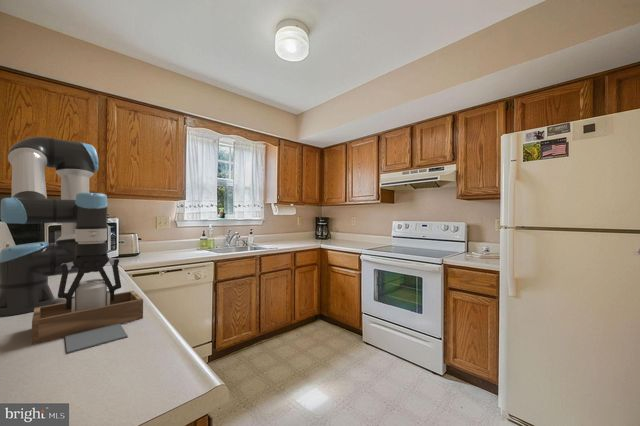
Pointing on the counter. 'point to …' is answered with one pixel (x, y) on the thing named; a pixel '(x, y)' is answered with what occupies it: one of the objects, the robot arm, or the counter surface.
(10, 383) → the counter surface
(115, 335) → the mat
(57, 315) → the box frame
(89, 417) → the counter surface
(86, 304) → the can
